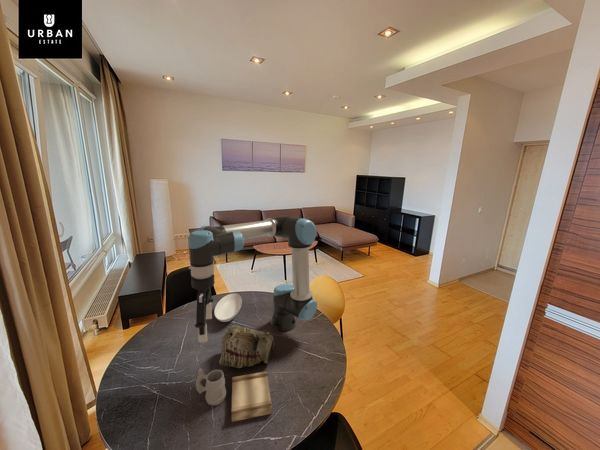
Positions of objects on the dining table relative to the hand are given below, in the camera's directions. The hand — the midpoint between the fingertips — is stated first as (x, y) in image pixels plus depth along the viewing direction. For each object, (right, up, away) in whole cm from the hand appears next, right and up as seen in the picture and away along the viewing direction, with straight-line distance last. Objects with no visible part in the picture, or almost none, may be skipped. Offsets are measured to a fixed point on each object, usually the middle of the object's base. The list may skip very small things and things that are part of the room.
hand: (205, 329), depth 90 cm
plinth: (+16, -29, +5) cm, 33 cm away
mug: (0, -29, +5) cm, 29 cm away
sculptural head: (+9, -25, +25) cm, 36 cm away
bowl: (-9, -17, +61) cm, 64 cm away
